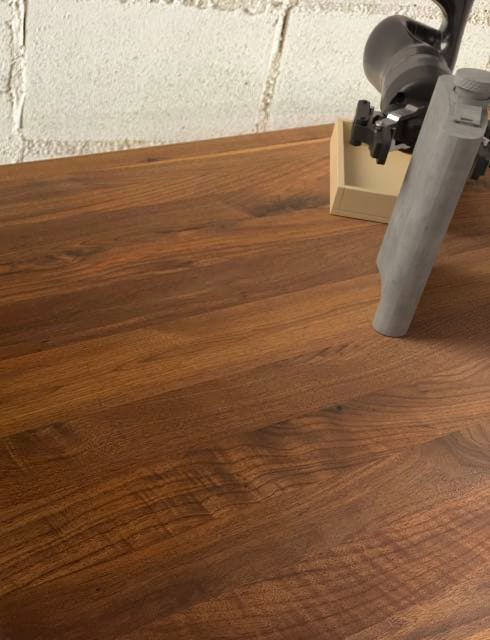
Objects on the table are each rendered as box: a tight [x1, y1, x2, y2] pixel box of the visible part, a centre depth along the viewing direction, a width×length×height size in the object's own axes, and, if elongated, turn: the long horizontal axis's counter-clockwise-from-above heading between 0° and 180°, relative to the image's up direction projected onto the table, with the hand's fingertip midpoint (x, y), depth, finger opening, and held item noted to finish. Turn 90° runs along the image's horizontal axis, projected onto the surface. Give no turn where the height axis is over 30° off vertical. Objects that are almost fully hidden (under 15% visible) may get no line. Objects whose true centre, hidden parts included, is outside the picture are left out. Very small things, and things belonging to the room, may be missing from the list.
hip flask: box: [371, 67, 490, 338], centre depth 78 cm, size 16×4×20 cm, turn 165°
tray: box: [329, 117, 412, 225], centre depth 103 cm, size 12×22×3 cm, turn 169°
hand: (431, 161), depth 81 cm, fingers open, 8 cm apart
